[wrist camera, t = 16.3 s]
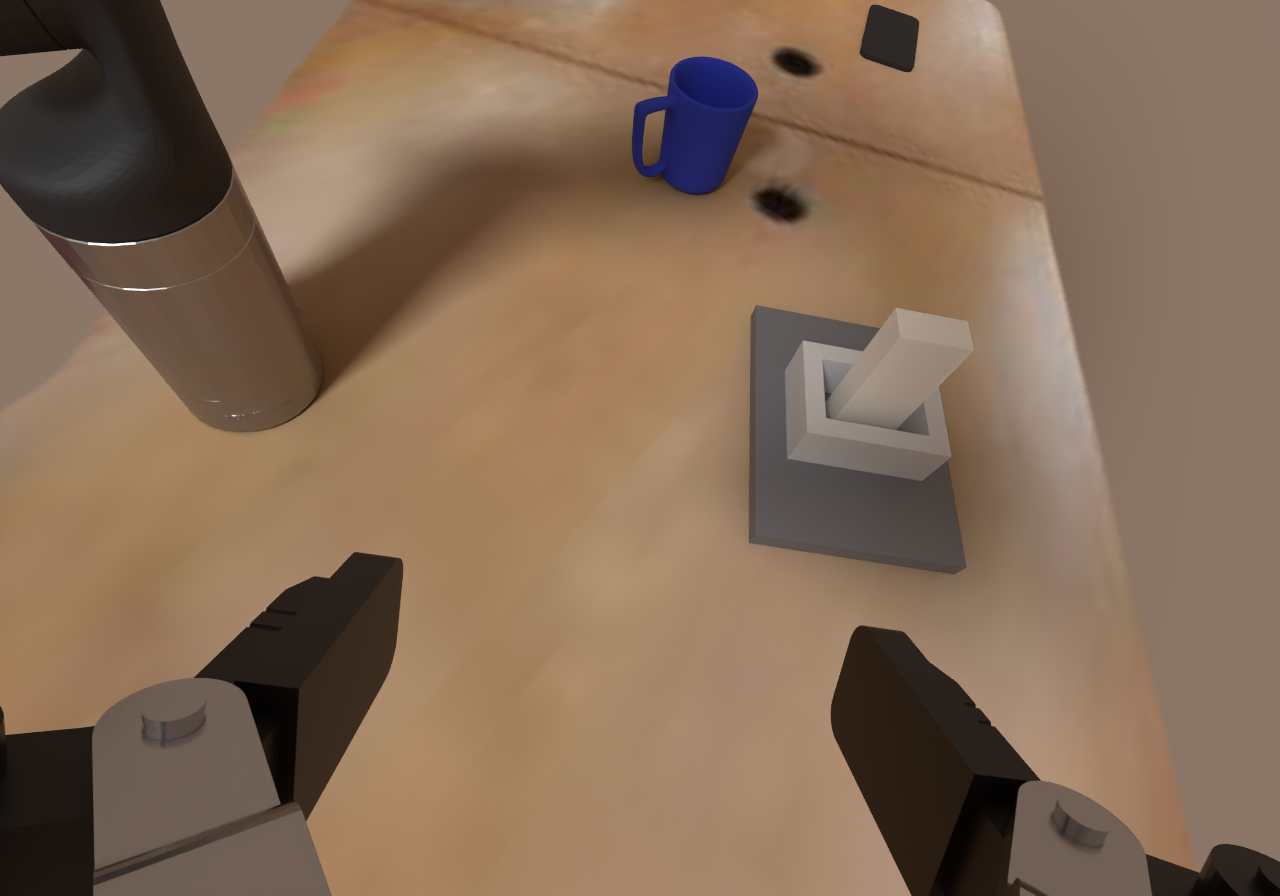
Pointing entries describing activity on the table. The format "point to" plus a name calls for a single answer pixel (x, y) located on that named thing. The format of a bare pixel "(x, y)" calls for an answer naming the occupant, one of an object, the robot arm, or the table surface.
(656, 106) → the mug
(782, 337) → the block insertion holder
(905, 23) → the phone
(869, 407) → the rectangular block
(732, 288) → the table surface
